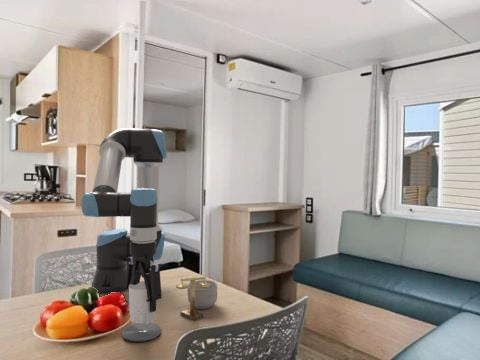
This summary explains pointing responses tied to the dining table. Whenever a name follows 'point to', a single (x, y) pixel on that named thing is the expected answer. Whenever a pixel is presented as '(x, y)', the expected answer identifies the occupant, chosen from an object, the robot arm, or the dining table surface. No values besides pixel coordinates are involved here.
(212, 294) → the teacup
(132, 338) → the dish
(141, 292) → the white cup
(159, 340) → the dining table surface
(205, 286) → the balance
